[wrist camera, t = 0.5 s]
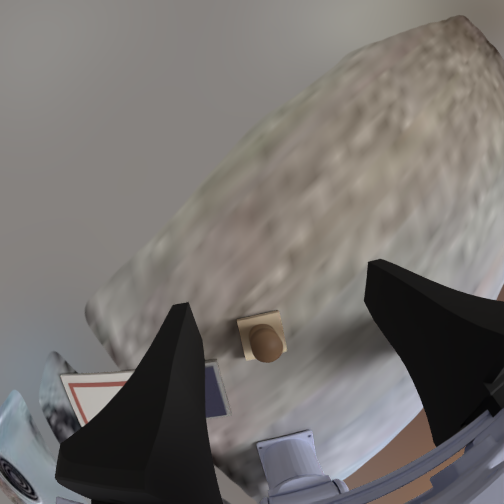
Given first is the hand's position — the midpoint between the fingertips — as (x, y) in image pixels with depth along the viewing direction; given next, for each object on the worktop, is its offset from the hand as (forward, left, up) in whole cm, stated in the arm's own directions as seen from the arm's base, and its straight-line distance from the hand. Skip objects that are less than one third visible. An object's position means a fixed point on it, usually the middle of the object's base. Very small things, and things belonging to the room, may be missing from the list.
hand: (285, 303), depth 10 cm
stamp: (-7, 0, -22) cm, 24 cm away
